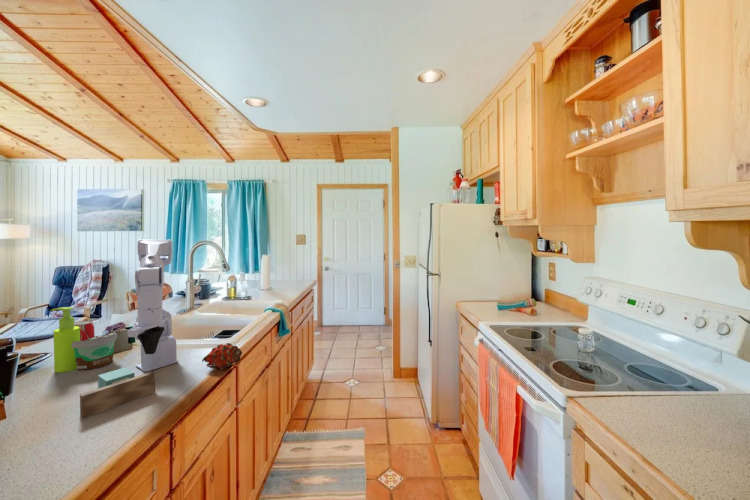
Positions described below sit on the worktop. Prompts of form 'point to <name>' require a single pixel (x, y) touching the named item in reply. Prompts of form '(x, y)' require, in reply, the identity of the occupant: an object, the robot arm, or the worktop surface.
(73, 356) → the soap dispenser
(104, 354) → the food container
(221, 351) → the dragon fruit
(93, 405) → the walnut block
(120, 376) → the teal cube
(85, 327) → the soda can
